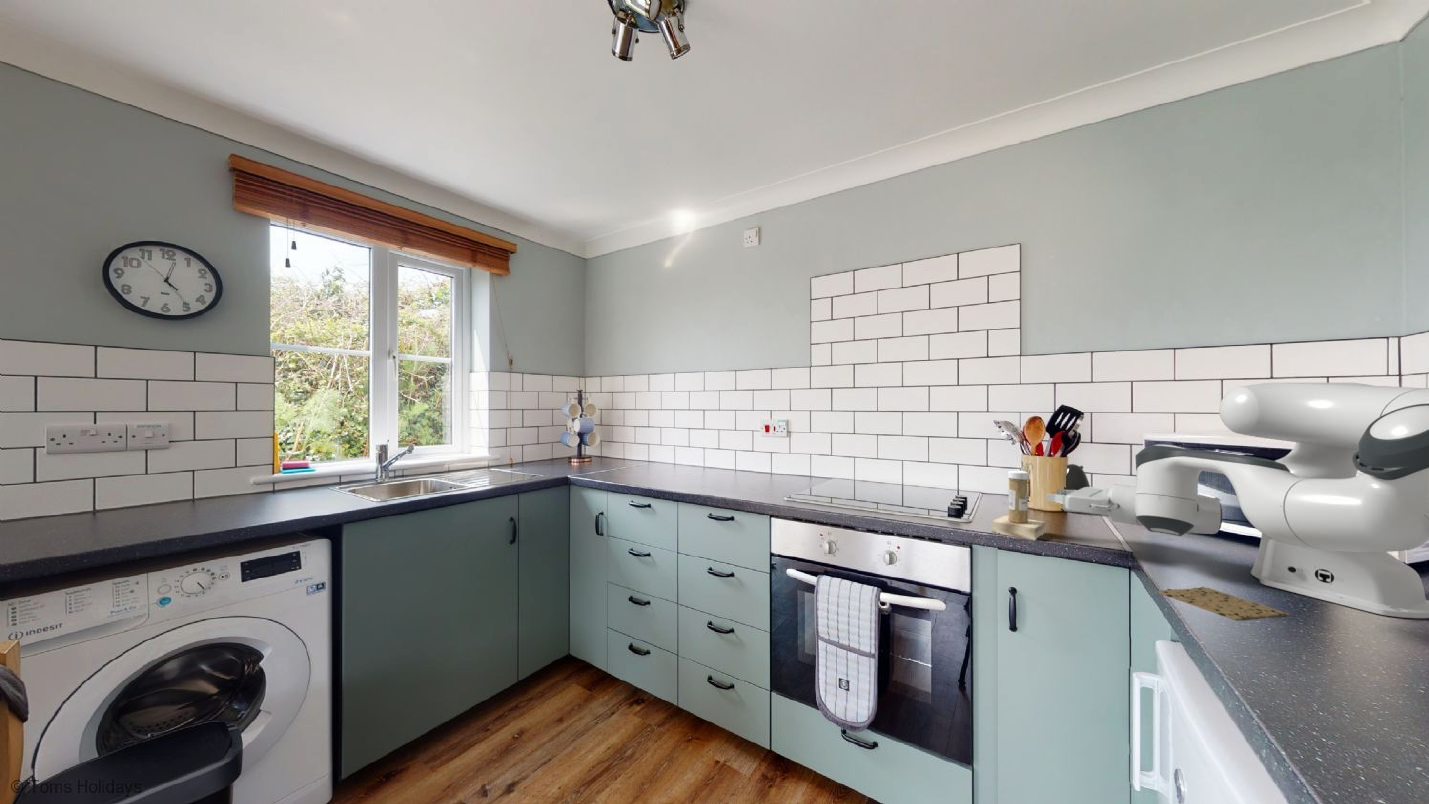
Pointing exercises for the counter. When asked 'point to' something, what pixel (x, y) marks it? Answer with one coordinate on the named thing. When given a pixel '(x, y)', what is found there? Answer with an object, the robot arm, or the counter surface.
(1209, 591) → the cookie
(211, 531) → the counter surface
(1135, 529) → the counter surface
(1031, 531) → the block
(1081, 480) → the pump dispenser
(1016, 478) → the sprinkles bottle
